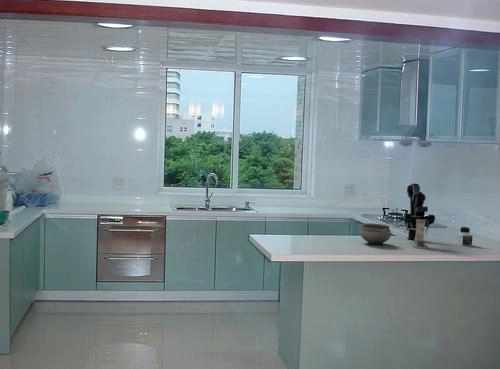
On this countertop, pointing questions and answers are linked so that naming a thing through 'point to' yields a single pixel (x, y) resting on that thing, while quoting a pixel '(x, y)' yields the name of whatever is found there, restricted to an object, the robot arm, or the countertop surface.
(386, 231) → the cooking pot
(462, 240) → the medicine bottle
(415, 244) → the flat rectangular plate
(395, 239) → the countertop surface
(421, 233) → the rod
